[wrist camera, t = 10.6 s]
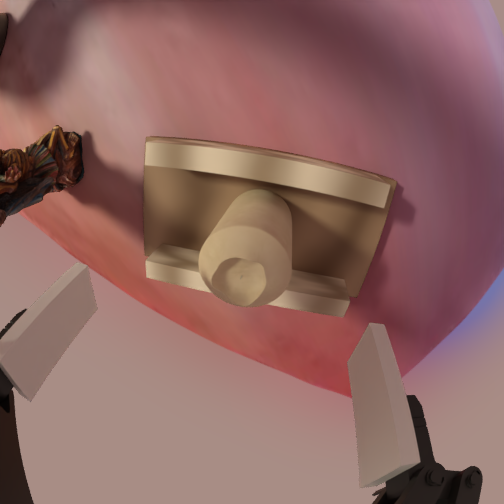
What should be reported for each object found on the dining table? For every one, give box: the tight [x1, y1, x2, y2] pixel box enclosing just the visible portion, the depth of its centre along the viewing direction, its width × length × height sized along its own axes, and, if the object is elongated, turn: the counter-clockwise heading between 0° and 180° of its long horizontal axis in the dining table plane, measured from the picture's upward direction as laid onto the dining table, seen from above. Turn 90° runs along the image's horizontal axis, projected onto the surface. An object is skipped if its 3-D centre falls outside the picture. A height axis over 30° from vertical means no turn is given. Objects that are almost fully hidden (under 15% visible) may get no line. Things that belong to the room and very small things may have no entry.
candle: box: [198, 189, 292, 307], centre depth 19 cm, size 6×6×10 cm
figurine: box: [0, 125, 84, 227], centre depth 16 cm, size 11×9×18 cm
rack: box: [143, 136, 397, 317], centre depth 22 cm, size 22×12×5 cm, turn 82°
